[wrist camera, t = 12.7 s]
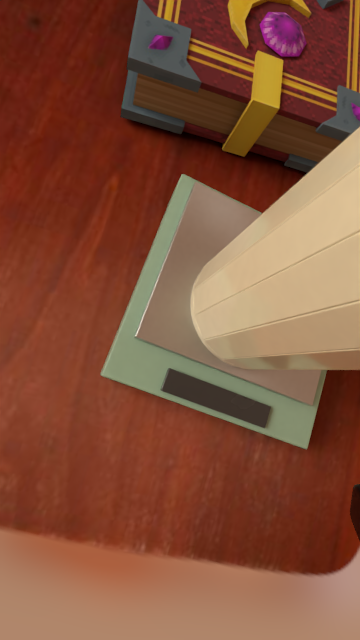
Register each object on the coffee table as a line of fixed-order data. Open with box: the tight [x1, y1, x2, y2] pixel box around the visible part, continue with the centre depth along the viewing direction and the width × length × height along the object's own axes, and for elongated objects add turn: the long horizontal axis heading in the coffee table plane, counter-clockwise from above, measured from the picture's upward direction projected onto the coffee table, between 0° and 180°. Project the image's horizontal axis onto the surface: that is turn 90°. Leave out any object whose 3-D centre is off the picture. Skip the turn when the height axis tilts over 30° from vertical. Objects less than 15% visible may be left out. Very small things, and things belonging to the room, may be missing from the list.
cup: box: [191, 125, 360, 370], centre depth 13 cm, size 7×7×12 cm
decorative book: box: [121, 0, 360, 172], centre depth 21 cm, size 11×16×5 cm
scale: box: [100, 174, 327, 449], centre depth 20 cm, size 12×12×3 cm
